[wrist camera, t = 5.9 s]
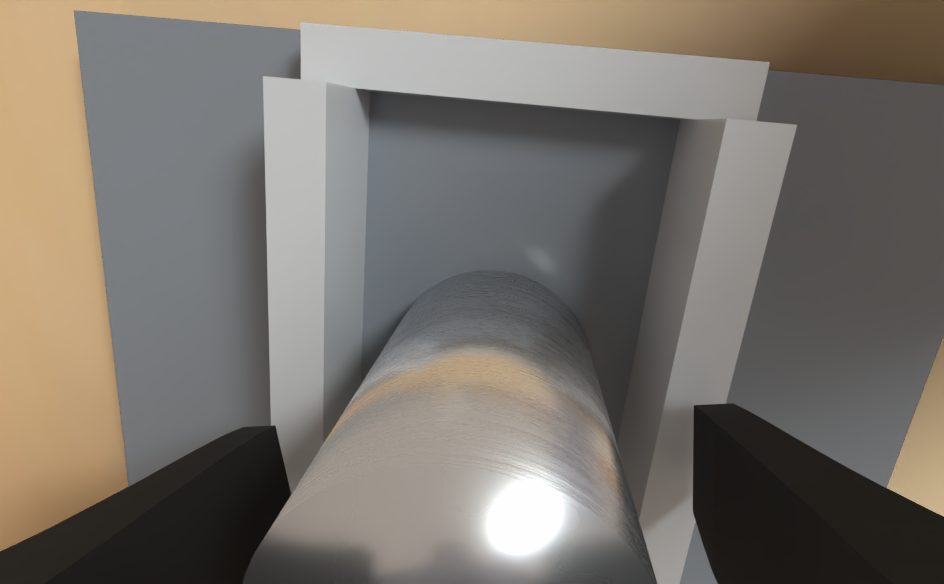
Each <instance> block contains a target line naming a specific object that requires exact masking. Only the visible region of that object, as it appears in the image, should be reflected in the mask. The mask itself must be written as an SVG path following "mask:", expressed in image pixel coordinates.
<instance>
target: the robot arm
mask: <svg viewBox="0 0 944 584" xmlns="http://www.w3.org/2000/svg"><path fill="white" fill-rule="evenodd" d="M290 496H291V491H290V486H289V482H288V478H287V473H286V469H285V465H284V461H283V456H282V452H281V448H280V443H279V439H278V435H277V430H276V426H275V425H274V426H253V427H242V428H240V429H237V430H235V431H232V432H230V433H228V434H226V435H223V436H221V437H219V438H217V439H215V440H213V441H211V442H210V443H208V444H206V445H204V446H202V447H200V448H198V449H196V450H194V451H193V452H191V453H189V454H187V455H185V456H183V457H182V458H180V459H178V460H176V461H174V462H173V463H171V464H169V465H167V466H165V467H163V468H162V469H160V470H158V471H156V472H154V473H153V474H151V475H149V476H147V477H145V478H144V479H142V480H140V481H138V482H136V483H135V484H133V485H131V486H129V487H127V488H125V489H124V490H122V491H120V492H118V493H116V494H114V495H112V496H110V497H108V498H106V499H105V500H103V501H101V502H99V503H97V504H95V505H93V506H91V507H89V508H87V509H85V510H83V511H82V512H80V513H78V514H76V515H74V516H72V517H70V518H68V519H66V520H64V521H62V522H60V523H59V524H57V525H55V526H53V527H51V528H49V529H47V530H45V531H43V532H41V533H39V534H37V535H34V536H32V537H30V538H28V539H26V540H24V541H22V542H20V543H18V544H16V545H13V546H11V547H9V548H7V549H5V550H3V551H0V584H243V581H244V576H245V573H246V571H247V569H248V566H249V564H250V562H251V560H252V557H253V555H254V553H255V551H256V550H257V548H258V547H259V545H260V543H261V542H262V540H263V539H264V537H265V536H266V534H267V532H268V531H269V529H270V528H271V526H272V524H273V523H274V521H275V520H276V518H277V517H278V515H279V513H280V512H281V510H282V509H283V507H284V505H285V504H286V502H287V501H288V499H289V498H290ZM693 514H694V517H695V520H696V524H697V527H698V530H699V533H700V536H701V540H702V543H703V546H704V549H705V552H706V555H707V558H708V561H709V564H710V567H711V569H712V572H713V574H714V576H715V579H716V581H717V583H718V584H944V517H943V516H941V515H939V514H937V513H935V512H933V511H931V510H929V509H927V508H925V507H923V506H921V505H919V504H917V503H915V502H913V501H911V500H909V499H907V498H905V497H903V496H901V495H899V494H897V493H895V492H893V491H891V490H889V489H887V488H885V487H883V486H881V485H879V484H877V483H875V482H874V481H872V480H870V479H868V478H866V477H864V476H862V475H861V474H859V473H857V472H855V471H853V470H851V469H849V468H848V467H846V466H844V465H842V464H840V463H839V462H837V461H835V460H833V459H831V458H830V457H828V456H826V455H824V454H823V453H821V452H819V451H817V450H816V449H814V448H812V447H810V446H809V445H807V444H805V443H803V442H802V441H800V440H798V439H796V438H795V437H793V436H791V435H790V434H788V433H786V432H784V431H783V430H781V429H779V428H778V427H776V426H774V425H772V424H771V423H769V422H767V421H766V420H764V419H762V418H760V417H758V416H757V415H755V414H753V413H751V412H750V411H748V410H746V409H744V408H742V407H740V406H738V405H736V404H733V403H729V404H708V405H694V429H693Z"/></svg>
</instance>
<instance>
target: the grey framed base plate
mask: <svg viewBox="0 0 944 584" xmlns="http://www.w3.org/2000/svg"><path fill="white" fill-rule="evenodd" d="M74 16H75V25H76V34H77V42H78V51H79V59H80V68H81V77H82V85H83V94H84V103H85V111H86V120H87V129H88V137H89V146H90V154H91V163H92V172H93V180H94V189H95V198H96V206H97V215H98V224H99V232H100V241H101V249H102V258H103V267H104V275H105V284H106V293H107V301H108V310H109V319H110V327H111V336H112V344H113V353H114V362H115V370H116V379H117V388H118V396H119V405H120V414H121V422H122V431H123V439H124V448H125V457H126V465H127V474H128V483H129V486H131V485H133V484H135V483H136V482H138V481H140V480H142V479H144V478H145V477H147V476H149V475H151V474H153V473H154V472H156V471H158V470H160V469H162V468H163V467H165V466H167V465H169V464H171V463H173V462H174V461H176V460H178V459H180V458H182V457H183V456H185V455H187V454H189V453H191V452H193V451H194V450H196V449H198V448H200V447H202V446H204V445H206V444H208V443H210V442H211V441H213V440H215V439H217V438H219V437H221V436H223V435H226V434H228V433H230V432H232V431H235V430H237V429H240V428H242V427H253V426H274V425H275V426H276V430H277V435H278V439H279V443H280V448H281V452H282V456H283V461H284V465H285V469H286V473H287V478H288V482H289V486H290V491H291V494H292V493H293V491H294V490H295V488H296V486H297V485H298V483H299V482H300V480H301V479H302V477H303V475H304V474H305V472H306V471H307V469H308V467H309V466H310V464H311V463H312V461H313V460H314V458H315V456H316V455H317V453H318V452H319V450H320V448H321V447H322V445H323V444H324V442H325V441H326V439H327V437H328V436H329V434H330V433H331V431H332V429H333V428H334V426H335V425H336V423H337V422H338V420H339V418H340V417H341V415H342V414H343V412H344V410H345V409H346V407H347V406H348V404H349V402H350V401H351V399H352V398H353V396H354V395H355V393H356V391H357V390H358V388H359V387H360V385H361V383H362V382H363V380H364V379H365V377H366V376H367V374H368V372H369V371H370V369H371V368H372V366H373V364H374V363H375V361H376V360H377V358H378V357H379V355H380V353H381V352H382V350H383V349H384V347H385V345H386V344H387V342H388V341H389V339H390V338H391V336H392V334H393V333H394V331H395V330H396V328H397V326H398V325H399V323H400V322H401V320H402V319H403V317H404V315H405V314H406V312H407V311H408V309H409V308H410V306H411V305H412V304H413V303H414V302H415V301H416V300H417V299H418V297H420V296H421V295H422V294H423V293H424V292H425V291H427V290H428V289H429V288H431V287H432V286H434V285H436V284H437V283H439V282H441V281H443V280H445V279H447V278H449V277H452V276H455V275H458V274H461V273H466V272H471V271H479V270H497V271H506V272H511V273H515V274H519V275H522V276H525V277H528V278H530V279H532V280H534V281H536V282H538V283H540V284H542V285H544V286H545V287H547V288H548V289H550V290H551V291H553V292H554V293H555V294H556V295H557V296H558V297H560V298H561V299H562V300H563V301H564V302H565V303H566V304H567V306H568V307H569V308H570V309H571V310H572V312H573V313H574V315H575V316H576V318H577V319H578V321H579V323H580V325H581V327H582V329H583V331H584V334H585V337H586V340H587V344H588V347H589V351H590V354H591V357H592V361H593V364H594V368H595V371H596V375H597V378H598V381H599V385H600V388H601V392H602V395H603V399H604V402H605V405H606V409H607V412H608V416H609V419H610V423H611V426H612V429H613V433H614V436H615V440H616V443H617V447H618V450H619V453H620V457H621V460H622V464H623V467H624V471H625V474H626V477H627V481H628V484H629V488H630V491H631V495H632V498H633V501H634V505H635V508H636V512H637V515H638V519H639V522H640V525H641V529H642V532H643V536H644V539H645V543H646V546H647V549H648V553H649V556H650V560H651V563H652V567H653V570H654V573H655V577H656V580H657V584H718V583H717V581H716V579H715V576H714V574H713V572H712V569H711V567H710V564H709V561H708V558H707V555H706V552H705V549H704V546H703V543H702V540H701V536H700V533H699V530H698V527H697V524H696V520H695V517H694V514H693V429H694V405H708V404H729V403H733V404H736V405H738V406H740V407H742V408H744V409H746V410H748V411H750V412H751V413H753V414H755V415H757V416H758V417H760V418H762V419H764V420H766V421H767V422H769V423H771V424H772V425H774V426H776V427H778V428H779V429H781V430H783V431H784V432H786V433H788V434H790V435H791V436H793V437H795V438H796V439H798V440H800V441H802V442H803V443H805V444H807V445H809V446H810V447H812V448H814V449H816V450H817V451H819V452H821V453H823V454H824V455H826V456H828V457H830V458H831V459H833V460H835V461H837V462H839V463H840V464H842V465H844V466H846V467H848V468H849V469H851V470H853V471H855V472H857V473H859V474H861V475H862V476H864V477H866V478H868V479H870V480H872V481H874V482H875V483H877V484H879V485H881V486H883V487H885V488H887V485H888V482H889V480H890V477H891V474H892V472H893V469H894V466H895V464H896V461H897V458H898V456H899V453H900V450H901V448H902V445H903V442H904V440H905V437H906V434H907V432H908V429H909V426H910V424H911V421H912V418H913V415H914V413H915V410H916V407H917V405H918V402H919V399H920V397H921V394H922V391H923V389H924V386H925V383H926V381H927V378H928V375H929V373H930V370H931V367H932V365H933V362H934V359H935V357H936V354H937V351H938V349H939V346H940V343H941V341H942V338H943V335H944V85H938V84H926V83H914V82H903V81H891V80H879V79H868V78H856V77H844V76H833V75H821V74H809V73H798V72H786V71H775V70H768V69H769V65H770V62H763V61H751V60H739V59H728V58H716V57H704V56H692V55H681V54H669V53H657V52H645V51H633V50H622V49H610V48H598V47H586V46H575V45H563V44H551V43H539V42H527V41H516V40H504V39H492V38H480V37H469V36H457V35H445V34H433V33H421V32H410V31H398V30H386V29H374V28H363V27H351V26H339V25H327V24H315V23H304V22H301V30H296V29H285V28H273V27H262V26H250V25H238V24H227V23H215V22H203V21H192V20H180V19H168V18H157V17H145V16H133V15H122V14H110V13H98V12H87V11H75V10H74Z"/></svg>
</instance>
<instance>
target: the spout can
mask: <svg viewBox="0 0 944 584" xmlns="http://www.w3.org/2000/svg"><path fill="white" fill-rule="evenodd" d="M243 584H657V580H656V577H655V573H654V570H653V567H652V563H651V560H650V556H649V553H648V549H647V546H646V543H645V539H644V536H643V532H642V529H641V525H640V522H639V519H638V515H637V512H636V508H635V505H634V501H633V498H632V495H631V491H630V488H629V484H628V481H627V477H626V474H625V471H624V467H623V464H622V460H621V457H620V453H619V450H618V447H617V443H616V440H615V436H614V433H613V429H612V426H611V423H610V419H609V416H608V412H607V409H606V405H605V402H604V399H603V395H602V392H601V388H600V385H599V381H598V378H597V375H596V371H595V368H594V364H593V361H592V357H591V354H590V351H589V347H588V344H587V340H586V337H585V334H584V331H583V329H582V327H581V325H580V323H579V321H578V319H577V318H576V316H575V315H574V313H573V312H572V310H571V309H570V308H569V307H568V306H567V304H566V303H565V302H564V301H563V300H562V299H561V298H560V297H558V296H557V295H556V294H555V293H554V292H553V291H551V290H550V289H548V288H547V287H545V286H544V285H542V284H540V283H538V282H536V281H534V280H532V279H530V278H528V277H525V276H522V275H519V274H515V273H511V272H506V271H497V270H479V271H471V272H466V273H461V274H458V275H455V276H452V277H449V278H447V279H445V280H443V281H441V282H439V283H437V284H436V285H434V286H432V287H431V288H429V289H428V290H427V291H425V292H424V293H423V294H422V295H421V296H420V297H418V299H417V300H416V301H415V302H414V303H413V304H412V305H411V306H410V308H409V309H408V311H407V312H406V314H405V315H404V317H403V319H402V320H401V322H400V323H399V325H398V326H397V328H396V330H395V331H394V333H393V334H392V336H391V338H390V339H389V341H388V342H387V344H386V345H385V347H384V349H383V350H382V352H381V353H380V355H379V357H378V358H377V360H376V361H375V363H374V364H373V366H372V368H371V369H370V371H369V372H368V374H367V376H366V377H365V379H364V380H363V382H362V383H361V385H360V387H359V388H358V390H357V391H356V393H355V395H354V396H353V398H352V399H351V401H350V402H349V404H348V406H347V407H346V409H345V410H344V412H343V414H342V415H341V417H340V418H339V420H338V422H337V423H336V425H335V426H334V428H333V429H332V431H331V433H330V434H329V436H328V437H327V439H326V441H325V442H324V444H323V445H322V447H321V448H320V450H319V452H318V453H317V455H316V456H315V458H314V460H313V461H312V463H311V464H310V466H309V467H308V469H307V471H306V472H305V474H304V475H303V477H302V479H301V480H300V482H299V483H298V485H297V486H296V488H295V490H294V491H293V493H292V494H291V496H290V498H289V499H288V501H287V502H286V504H285V505H284V507H283V509H282V510H281V512H280V513H279V515H278V517H277V518H276V520H275V521H274V523H273V524H272V526H271V528H270V529H269V531H268V532H267V534H266V536H265V537H264V539H263V540H262V542H261V543H260V545H259V547H258V548H257V550H256V551H255V553H254V555H253V557H252V560H251V562H250V564H249V566H248V569H247V571H246V573H245V576H244V581H243Z"/></svg>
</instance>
